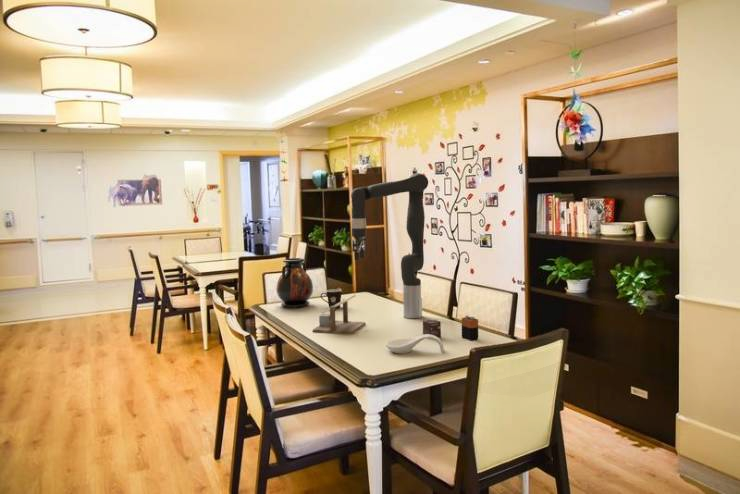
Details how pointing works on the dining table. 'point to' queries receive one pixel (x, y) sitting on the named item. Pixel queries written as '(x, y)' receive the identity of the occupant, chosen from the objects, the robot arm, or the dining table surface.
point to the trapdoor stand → (340, 323)
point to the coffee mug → (333, 297)
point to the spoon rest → (411, 343)
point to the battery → (470, 328)
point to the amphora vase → (294, 284)
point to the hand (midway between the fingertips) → (359, 258)
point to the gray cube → (324, 320)
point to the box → (432, 327)
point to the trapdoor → (339, 303)
